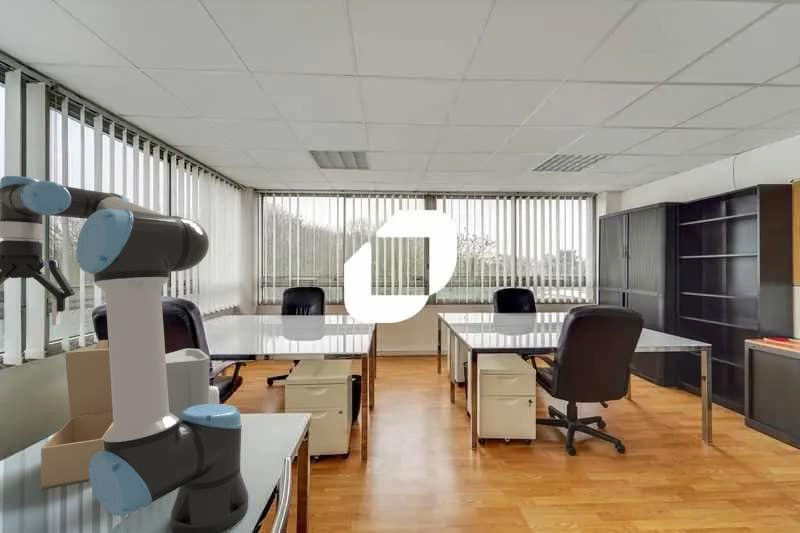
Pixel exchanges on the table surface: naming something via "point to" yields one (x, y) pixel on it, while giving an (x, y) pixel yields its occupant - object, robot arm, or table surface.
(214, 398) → the photo printer
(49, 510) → the table surface
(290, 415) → the table surface
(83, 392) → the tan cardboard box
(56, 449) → the tan rectangular open box
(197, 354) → the grey tapered bin
